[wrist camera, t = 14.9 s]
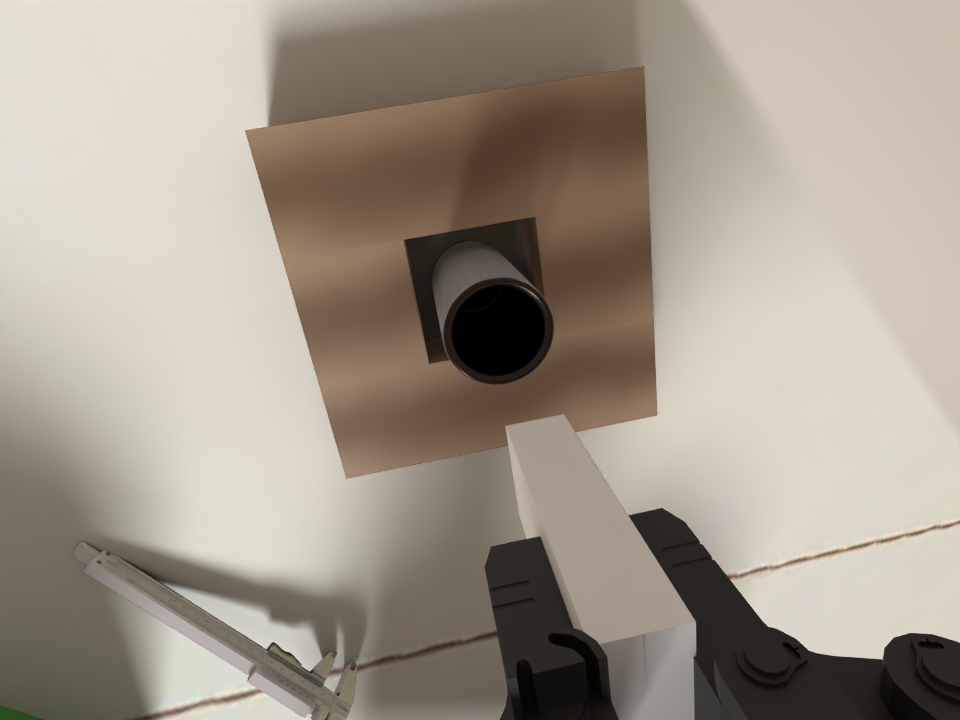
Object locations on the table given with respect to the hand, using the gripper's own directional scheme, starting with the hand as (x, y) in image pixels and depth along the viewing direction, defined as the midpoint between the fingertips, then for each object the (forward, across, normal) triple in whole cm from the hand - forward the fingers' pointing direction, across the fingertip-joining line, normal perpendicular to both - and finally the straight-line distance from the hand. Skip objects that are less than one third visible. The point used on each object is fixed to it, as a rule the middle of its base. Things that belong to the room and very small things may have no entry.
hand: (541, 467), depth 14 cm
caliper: (+20, +20, +19) cm, 33 cm away
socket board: (+19, -1, -1) cm, 19 cm away
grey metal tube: (+19, 0, -1) cm, 19 cm away
